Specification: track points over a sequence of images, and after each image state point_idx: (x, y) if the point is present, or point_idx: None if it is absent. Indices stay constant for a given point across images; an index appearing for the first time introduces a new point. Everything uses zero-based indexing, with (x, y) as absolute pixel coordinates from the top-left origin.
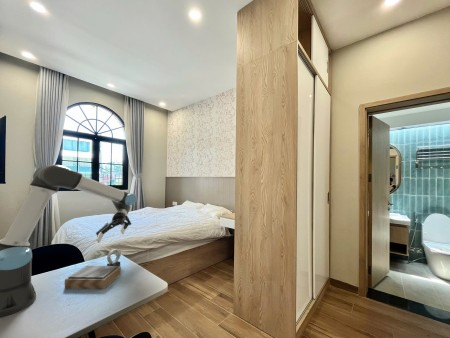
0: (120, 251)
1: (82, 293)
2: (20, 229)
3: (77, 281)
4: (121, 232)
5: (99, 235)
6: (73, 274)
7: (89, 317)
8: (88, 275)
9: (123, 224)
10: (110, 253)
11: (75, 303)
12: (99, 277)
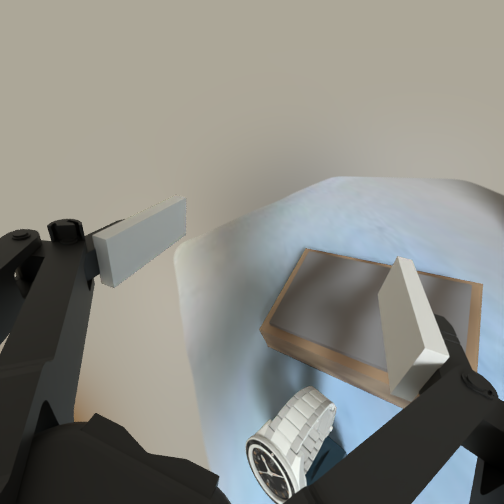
0: (247, 440)
1: None
2: None
3: None
4: (185, 218)
5: (405, 294)
6: (462, 300)
7: (313, 196)
8: (373, 274)
9: (110, 231)
10: (310, 395)
11: (365, 230)
12: (323, 254)
